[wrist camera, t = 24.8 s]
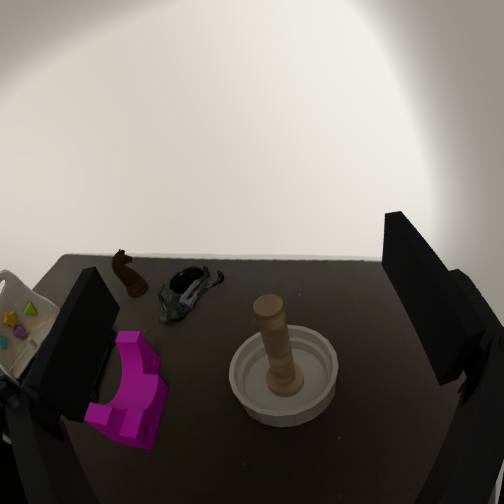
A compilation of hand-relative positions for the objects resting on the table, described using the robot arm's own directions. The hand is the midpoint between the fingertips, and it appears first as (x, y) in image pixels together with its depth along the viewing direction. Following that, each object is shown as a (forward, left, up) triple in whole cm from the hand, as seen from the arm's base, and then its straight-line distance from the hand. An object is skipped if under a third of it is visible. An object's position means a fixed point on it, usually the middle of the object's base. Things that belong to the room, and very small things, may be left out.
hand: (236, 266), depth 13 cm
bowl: (-3, -9, -28) cm, 30 cm away
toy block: (+17, -13, -28) cm, 36 cm away
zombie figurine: (+7, -31, -28) cm, 43 cm away
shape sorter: (+45, -32, -28) cm, 63 cm away
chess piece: (+18, -40, -28) cm, 53 cm away
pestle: (-3, -9, -27) cm, 29 cm away
